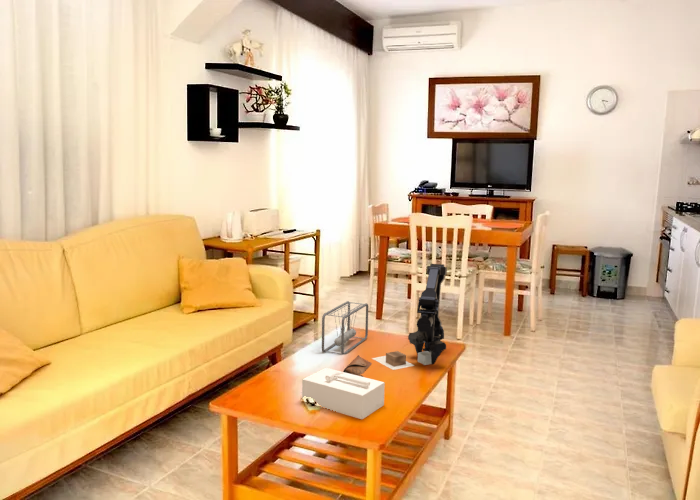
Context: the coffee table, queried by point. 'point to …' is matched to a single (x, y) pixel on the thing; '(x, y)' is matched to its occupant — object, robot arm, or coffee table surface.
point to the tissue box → (344, 392)
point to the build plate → (383, 361)
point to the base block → (395, 358)
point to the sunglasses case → (357, 366)
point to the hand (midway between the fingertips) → (426, 360)
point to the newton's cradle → (349, 333)
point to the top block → (424, 357)
